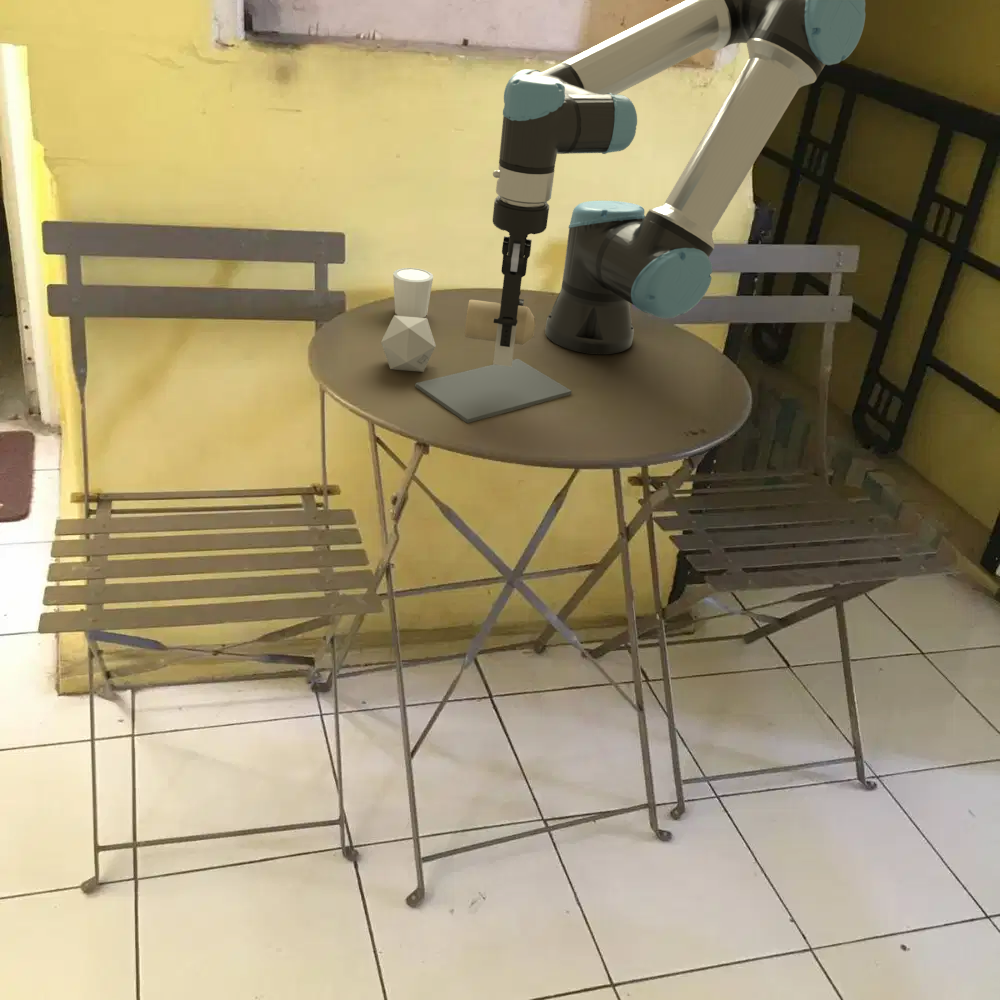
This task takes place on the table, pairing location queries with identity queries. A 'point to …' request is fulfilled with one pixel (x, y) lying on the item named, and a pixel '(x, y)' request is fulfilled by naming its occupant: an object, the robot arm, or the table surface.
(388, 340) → the die
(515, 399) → the mat
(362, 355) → the table surface
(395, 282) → the shot glass
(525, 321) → the candle
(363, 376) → the table surface
